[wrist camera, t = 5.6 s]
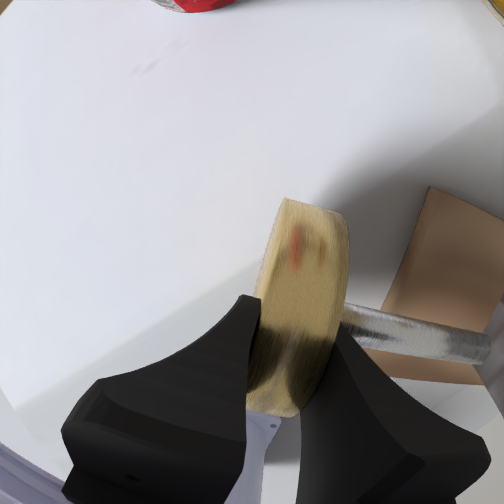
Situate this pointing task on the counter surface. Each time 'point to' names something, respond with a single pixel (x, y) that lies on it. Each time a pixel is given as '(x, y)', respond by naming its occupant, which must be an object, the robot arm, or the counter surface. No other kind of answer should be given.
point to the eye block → (451, 291)
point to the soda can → (193, 5)
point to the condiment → (496, 8)
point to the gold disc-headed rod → (325, 314)
